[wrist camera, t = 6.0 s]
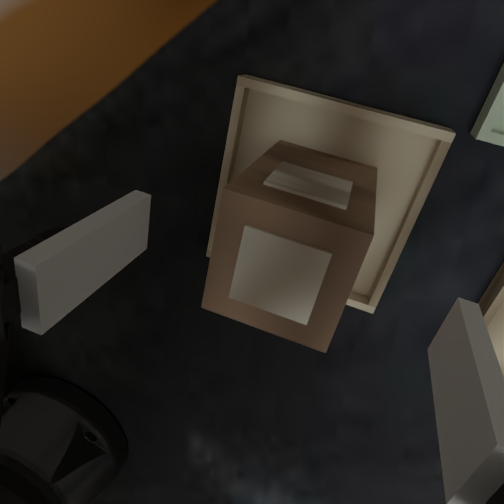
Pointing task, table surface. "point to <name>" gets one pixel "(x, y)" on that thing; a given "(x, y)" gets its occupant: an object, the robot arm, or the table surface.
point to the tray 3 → (495, 314)
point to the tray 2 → (492, 115)
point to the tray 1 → (346, 146)
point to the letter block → (291, 242)
